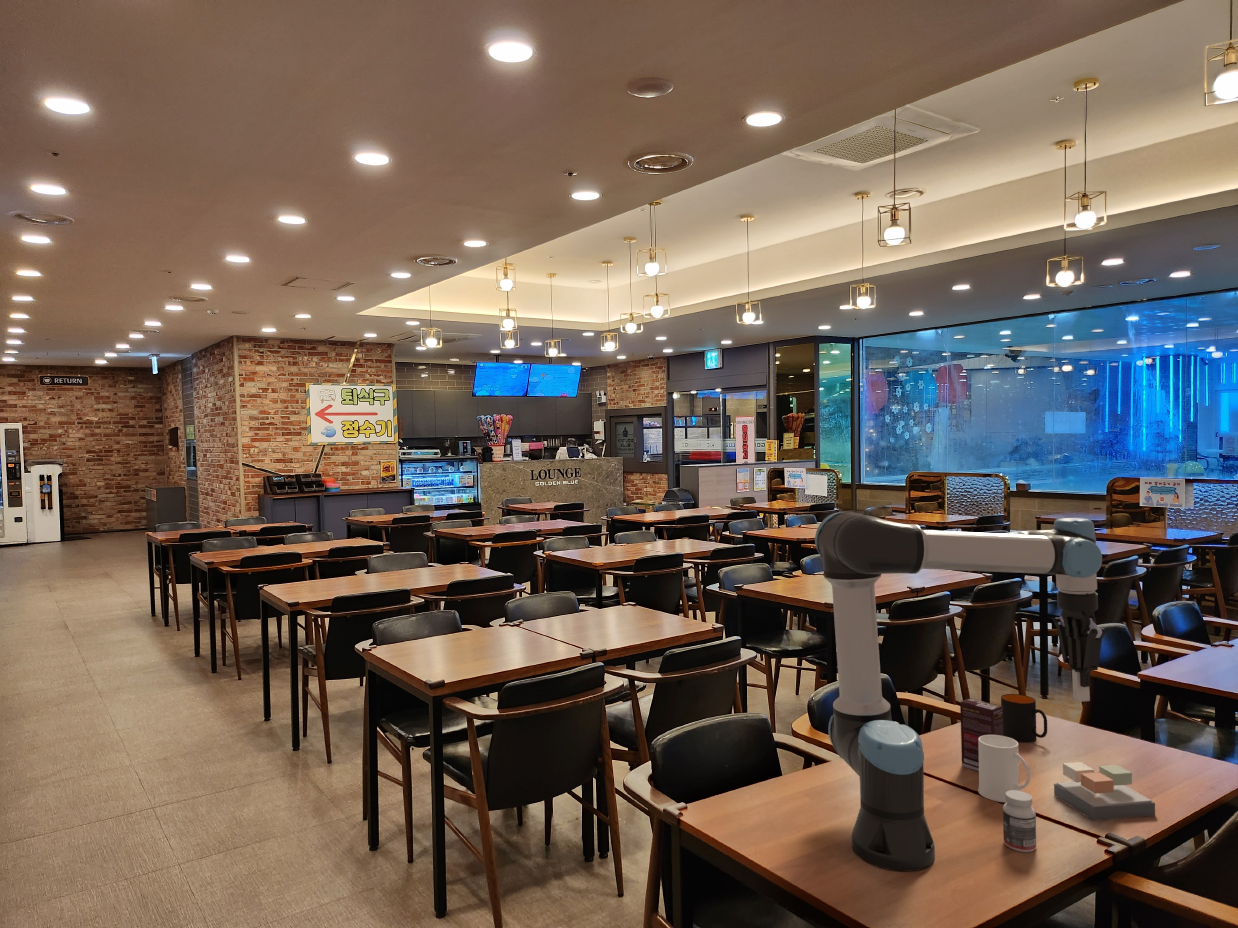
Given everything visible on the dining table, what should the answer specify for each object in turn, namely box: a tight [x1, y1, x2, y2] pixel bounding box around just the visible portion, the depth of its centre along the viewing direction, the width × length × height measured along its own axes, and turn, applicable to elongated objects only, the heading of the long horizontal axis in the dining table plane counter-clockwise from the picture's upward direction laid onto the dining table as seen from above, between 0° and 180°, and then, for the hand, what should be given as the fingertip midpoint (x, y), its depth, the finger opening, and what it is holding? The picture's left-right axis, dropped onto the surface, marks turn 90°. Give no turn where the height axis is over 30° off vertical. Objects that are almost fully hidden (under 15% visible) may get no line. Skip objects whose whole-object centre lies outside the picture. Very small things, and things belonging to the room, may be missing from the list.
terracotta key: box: [1081, 771, 1114, 794], centre depth 163 cm, size 4×4×2 cm
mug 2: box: [977, 735, 1031, 803], centre depth 171 cm, size 12×8×12 cm
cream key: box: [1062, 761, 1095, 782], centre depth 169 cm, size 4×4×2 cm
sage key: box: [1098, 764, 1133, 786], centre depth 167 cm, size 4×4×2 cm
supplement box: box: [959, 698, 1004, 772], centre depth 187 cm, size 9×5×16 cm, turn 36°
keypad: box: [1053, 780, 1156, 821], centre depth 167 cm, size 14×12×3 cm
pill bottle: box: [1002, 790, 1037, 853], centre depth 150 cm, size 6×6×10 cm
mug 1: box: [1000, 693, 1048, 744], centre depth 205 cm, size 8×12×10 cm
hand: (1081, 700), depth 166 cm, fingers closed
